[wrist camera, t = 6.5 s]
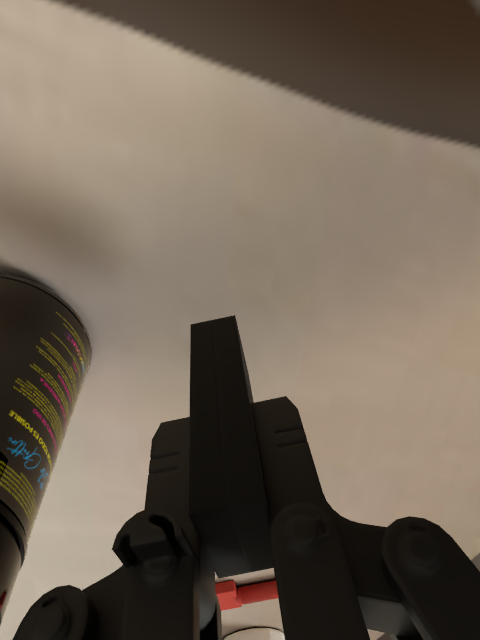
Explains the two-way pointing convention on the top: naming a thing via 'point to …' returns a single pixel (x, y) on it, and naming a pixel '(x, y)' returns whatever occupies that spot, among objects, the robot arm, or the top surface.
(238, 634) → the white cup
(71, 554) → the top surface
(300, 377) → the top surface
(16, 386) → the supplement container
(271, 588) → the red rod with block
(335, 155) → the top surface
